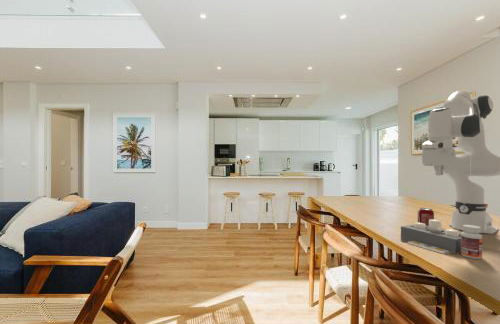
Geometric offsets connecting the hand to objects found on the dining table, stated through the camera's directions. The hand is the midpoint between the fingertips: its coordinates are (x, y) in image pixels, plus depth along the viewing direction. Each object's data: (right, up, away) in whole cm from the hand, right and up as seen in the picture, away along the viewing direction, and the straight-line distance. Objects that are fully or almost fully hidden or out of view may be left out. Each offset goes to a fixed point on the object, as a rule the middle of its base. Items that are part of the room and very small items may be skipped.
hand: (439, 175), depth 118 cm
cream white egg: (-5, -25, -4) cm, 26 cm away
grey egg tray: (-5, -29, -4) cm, 30 cm away
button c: (-2, -28, -10) cm, 30 cm away
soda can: (+2, -29, +13) cm, 32 cm away
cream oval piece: (-8, -28, +2) cm, 29 cm away
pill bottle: (-2, -30, -19) cm, 35 cm away
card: (-12, -29, -10) cm, 33 cm away
